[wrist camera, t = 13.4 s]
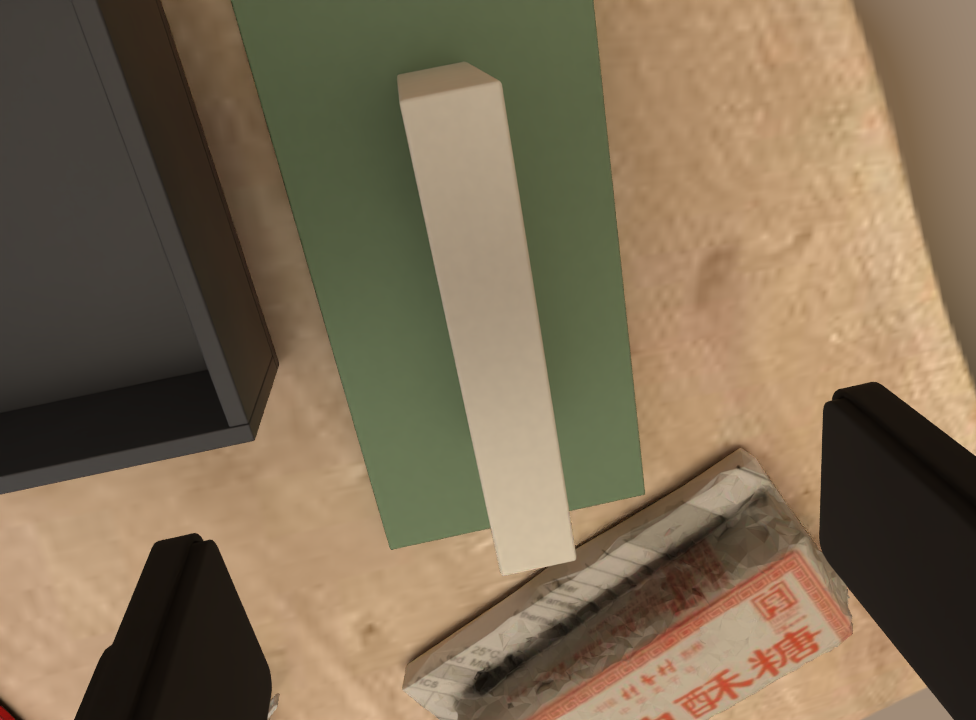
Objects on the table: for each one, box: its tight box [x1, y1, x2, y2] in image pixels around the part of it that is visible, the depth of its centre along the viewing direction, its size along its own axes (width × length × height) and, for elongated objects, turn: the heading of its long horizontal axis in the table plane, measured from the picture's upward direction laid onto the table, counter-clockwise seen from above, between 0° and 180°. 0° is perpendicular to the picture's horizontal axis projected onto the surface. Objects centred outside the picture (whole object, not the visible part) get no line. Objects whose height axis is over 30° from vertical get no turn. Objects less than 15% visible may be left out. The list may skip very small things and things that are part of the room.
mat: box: [231, 0, 645, 550], centre depth 26 cm, size 22×10×1 cm, turn 10°
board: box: [397, 62, 576, 576], centre depth 22 cm, size 13×2×8 cm, turn 10°
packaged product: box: [402, 448, 853, 720], centre depth 32 cm, size 18×5×10 cm
